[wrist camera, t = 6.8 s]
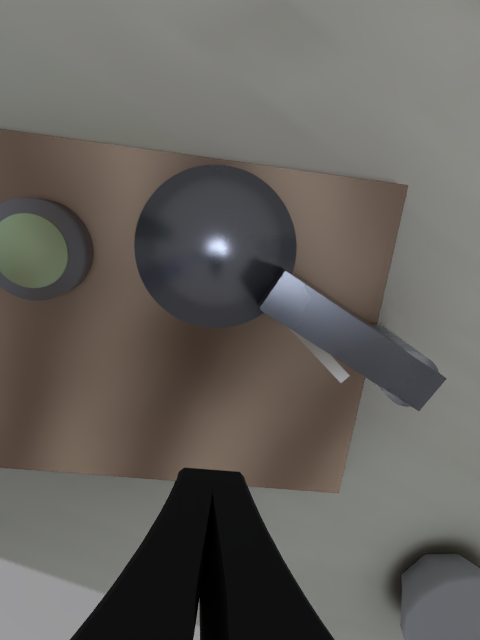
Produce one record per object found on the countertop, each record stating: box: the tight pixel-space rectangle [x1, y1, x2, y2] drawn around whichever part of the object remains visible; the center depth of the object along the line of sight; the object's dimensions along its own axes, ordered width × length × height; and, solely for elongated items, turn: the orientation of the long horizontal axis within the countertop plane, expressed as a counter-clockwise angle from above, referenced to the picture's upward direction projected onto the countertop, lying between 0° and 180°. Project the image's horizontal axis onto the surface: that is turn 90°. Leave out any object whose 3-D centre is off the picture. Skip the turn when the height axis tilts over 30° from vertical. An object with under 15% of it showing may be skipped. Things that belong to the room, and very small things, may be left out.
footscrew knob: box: [134, 165, 446, 411], centre depth 14 cm, size 11×5×4 cm, turn 57°
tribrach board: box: [0, 129, 408, 493], centre depth 16 cm, size 16×14×2 cm
